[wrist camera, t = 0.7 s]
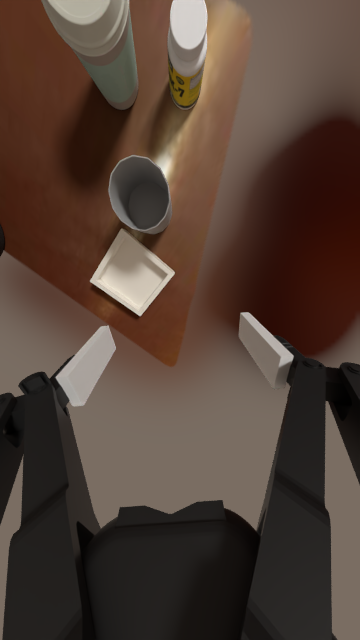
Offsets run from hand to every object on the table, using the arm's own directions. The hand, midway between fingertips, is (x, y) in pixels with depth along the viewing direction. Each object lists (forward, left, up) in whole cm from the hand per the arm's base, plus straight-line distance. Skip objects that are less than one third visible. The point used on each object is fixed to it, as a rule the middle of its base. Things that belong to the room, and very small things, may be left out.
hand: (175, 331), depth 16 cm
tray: (-8, -5, -23) cm, 25 cm away
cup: (-13, +7, -24) cm, 28 cm away
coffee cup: (-26, +18, -24) cm, 39 cm away
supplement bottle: (-18, +23, -24) cm, 38 cm away
